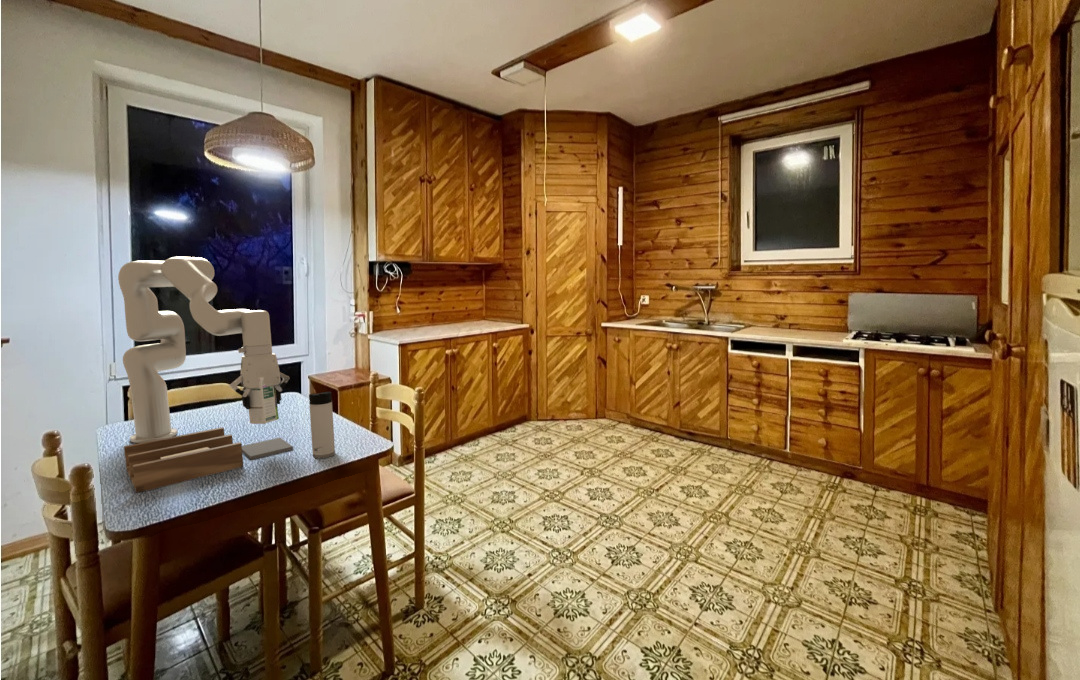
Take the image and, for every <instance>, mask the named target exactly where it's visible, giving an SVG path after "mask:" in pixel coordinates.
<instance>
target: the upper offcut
mask: <svg viewBox="0 0 1080 680" xmlns="http://www.w3.org/2000/svg"><path fill="white" fill-rule="evenodd" d="M206 449H210V448H208V447H205V448H200V449H196V450H191V451H187V452H182V453H178V454H174V455H169V456H165V457H160V459H164V458H168V457H173V456H178V455H182V454H187V453H192V452H196V451H201V450H206Z"/></svg>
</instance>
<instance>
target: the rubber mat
mask: <svg viewBox="0 0 1080 680" xmlns="http://www.w3.org/2000/svg"><path fill="white" fill-rule="evenodd" d="M292 449H293V450H294V447H293V445H291V444H290V443H288V442H287V441H286V440H284V439H283V438H281V437H275V438H272V439H267V440H263V441H258V442H254V443H249V444H244V445H242V454H243V455H245V457H247V458H248V459H249V460H255V459H260V458H263V457H267V456H271V455H276V454H280V453H283V452H288V450H289V451H293V450H292Z"/></svg>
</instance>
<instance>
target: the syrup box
mask: <svg viewBox="0 0 1080 680" xmlns="http://www.w3.org/2000/svg"><path fill="white" fill-rule="evenodd" d="M263 379H264V378H263V377H259V388H256V389H251V390H250V392H249V393H248V396H249V398H250V409H248V415H249V416H248V417H249V423H250V424H255V425H257V424H258V425H266V424H268V423H271V422H274V421H278V420H279V409H278V404H277V397H276V388H275V387H274V386H269V387H267V386H265V383H264V380H263Z"/></svg>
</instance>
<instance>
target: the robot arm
mask: <svg viewBox="0 0 1080 680" xmlns="http://www.w3.org/2000/svg"><path fill="white" fill-rule="evenodd" d="M214 268H215V267H214V266H213V265H212V263H211V262H210V261H208V259H206V258H203V257H199V256H198V257H195V256H192V257H191V256H172V257H169V258H167V259H165V260H134V261H129V262H126V263H125V264H123V265H122V266H121V267H120V270H119V272H118V279H117V280H118V284H119V285H118V286H119V289H120V290H121V294H122V297H123V303H124V315H125V316H124V317H125V328H126V332H127V333H126V334H127V336H128V337H129V339H130V340H132V341H135V342H150V341H157V340H160V343H159V342H157V343H150V344H142V345H136V346H134V347H130V348H129V349H127V350H126V351H125V352H124V353H123V356H122V364H123V367H124V370H125V373H126V374H127V379H128V383H129V389H130V397H131V404H132V412H133V413H132V414H133V420H134V421H133V422H134V430H135V431H134V432H135V434H132V435H131V436H130V437H129V440H130V442H131V443H133V444H138V443H143V442H148V441H154V440H159V439H164V438H169V437H174V436H177V434H178V430H177V428H172V423H171V415H170V414H171V412H170V406H169V405H170V404H169V395H168V387H167V386H168V385H167V384H166V383H167V382H166V381H165V380H164V378H163V377H162V376H161V375H160V374H159V372H163V371H169V370H173V369H178V368H180V367H182V366H183V365H184V364H185V361H186V356H187V351H186V349H187V348H186V334H185V331H186V330H185V325H184V322H183V319H182V318H181V316H180V315H179V314H178V313H176V312H175V311H172V310H159V304H158V303H159V302H158V298H157V296H156V295H155V293H154V292H153V291H152V290H151V288H167V287H168V288H172V287H173V288H176V289H177V290H178V291H179V292H180V293H182V294H183V296H184V297H185V298H187V299H188V300H189V311H190V314H191V316H192V319H193V320H194V321H195V322H196V323H197V324H198V325H199V326H200V327H201V328H202V329H204V330H205V331H206V332H208V333H209V334H211V335H213V336H217V337H218V336H219V337H221V336H229V335H236V334H242V342H243V344H242V347H241V348H238V349H237V351H238V353H239V354H243V355H241V358H240V359H241V360H240V361H241V362H240V376H238V377H237V378H236V379H235V380H234V381H232V382H231V383H230V384H229V387H230V388H231V389H232V390H233V391H234V392H235V393H237V394H238V395H240V396H241V402H242V407H243V408H245V409H246V410H249V409H250V398H249V396H248V393H249V392H250V390H251V389H256V388H259V377H263V378H264V379H263V380H264V383H265V386H267V387H269V386H274V387H275V388H276V397H277V405H280V404H281V401H282V394H281V393H282V391H283V389H284V387H285V386H286V385H287V383H288V382H289V380H290V375H286V373H282V372H281V371H280V366H279V362H278V357H277V355H276V353H274V352H273V347H272V346H273V344H272V333H271V321H270V314H269V312H268V311H267V310H262V309H257V310H255V309H253V310H252V309H251V310H250V309H247V308H236V309H235V308H234V309H222V310H221V309H220V310H217V309H215V308H214V306H212V305H211V304H210V303H209V302H210V301H212V300H213V299H214V298H215V296H216V295H217V293H218V286H217V284H216V283H215V282H214V281H212V280H213V279H214V277H215V269H214ZM281 378H282V380H281ZM239 384H241V386H242V387H243V388H242V389H240V388H239V387H238V385H239Z"/></svg>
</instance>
